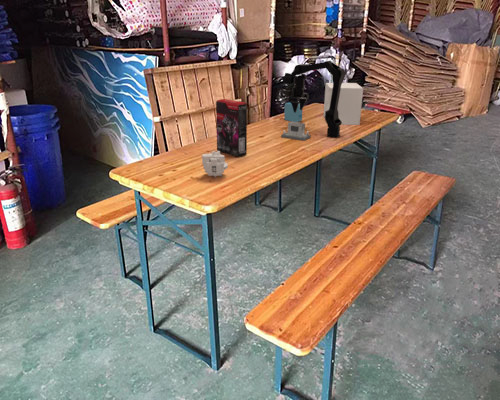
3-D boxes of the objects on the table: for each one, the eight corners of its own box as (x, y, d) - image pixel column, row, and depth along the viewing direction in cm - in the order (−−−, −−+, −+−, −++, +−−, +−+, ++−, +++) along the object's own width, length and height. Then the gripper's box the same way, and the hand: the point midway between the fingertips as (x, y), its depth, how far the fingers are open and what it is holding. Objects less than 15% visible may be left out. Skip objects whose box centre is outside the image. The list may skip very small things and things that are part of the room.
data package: (302, 121, 304) (302, 104, 299) (298, 122, 300) (299, 105, 296) (287, 119, 311) (288, 102, 306) (284, 120, 307) (284, 102, 303)
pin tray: (310, 137, 263) (310, 130, 262) (303, 140, 256) (304, 134, 255) (288, 134, 271) (288, 127, 269) (281, 137, 264) (281, 130, 262)
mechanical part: (228, 171, 205) (228, 147, 200) (226, 180, 193) (226, 155, 189) (204, 171, 205) (203, 146, 200) (201, 180, 194) (200, 154, 189)
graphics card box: (215, 151, 236) (214, 100, 225) (225, 148, 240) (224, 98, 230) (238, 157, 225) (238, 104, 214) (247, 155, 230) (248, 102, 219)
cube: (323, 117, 319) (325, 82, 310) (352, 117, 318) (356, 83, 309) (327, 125, 296) (330, 88, 287) (359, 125, 295) (363, 88, 286)
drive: (304, 134, 262) (305, 123, 260) (301, 136, 259) (301, 124, 256) (290, 132, 267) (291, 121, 264) (287, 134, 263) (287, 122, 261)
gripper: (293, 82, 280) (292, 107, 286) (280, 86, 265) (279, 112, 271) (310, 84, 275) (308, 109, 281) (297, 88, 260) (296, 114, 266)
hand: (297, 111), depth 275 cm, fingers open, 9 cm apart
